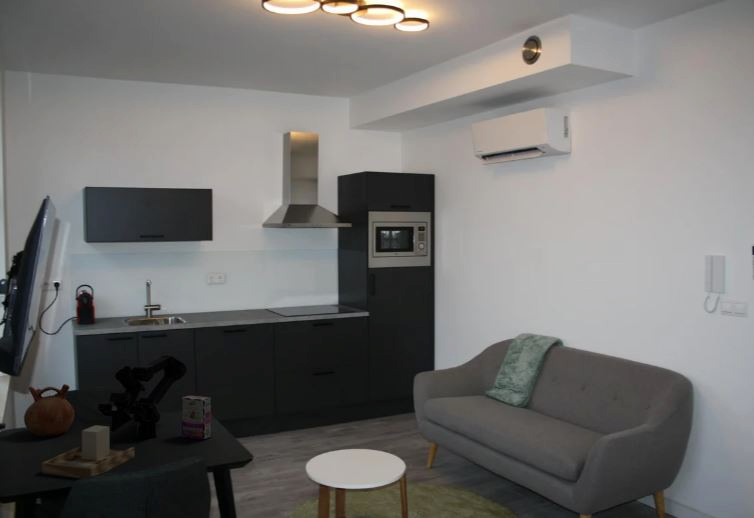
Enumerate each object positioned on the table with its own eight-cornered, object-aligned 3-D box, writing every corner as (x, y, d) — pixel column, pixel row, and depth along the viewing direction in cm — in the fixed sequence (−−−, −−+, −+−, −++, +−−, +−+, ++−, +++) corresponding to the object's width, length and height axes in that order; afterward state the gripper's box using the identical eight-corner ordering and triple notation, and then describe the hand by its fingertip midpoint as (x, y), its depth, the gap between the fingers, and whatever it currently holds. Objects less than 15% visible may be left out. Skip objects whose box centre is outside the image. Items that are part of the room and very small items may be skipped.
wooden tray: (88, 451, 247) (88, 442, 247) (134, 456, 242) (134, 447, 242) (41, 473, 224) (41, 463, 224) (91, 479, 219) (91, 469, 219)
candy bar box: (211, 437, 266) (211, 397, 265) (204, 440, 261) (204, 400, 261) (189, 434, 270) (189, 394, 270) (181, 437, 266) (181, 397, 265)
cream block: (95, 452, 240) (95, 425, 240) (109, 453, 239) (109, 426, 239) (82, 458, 234) (81, 430, 233) (96, 460, 232) (96, 432, 232)
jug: (22, 442, 257) (21, 392, 257) (26, 430, 274) (25, 382, 273) (73, 437, 265) (73, 388, 264) (74, 425, 281) (74, 378, 280)
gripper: (100, 382, 252) (80, 418, 242) (142, 385, 247) (124, 422, 237) (113, 397, 260) (94, 433, 249) (155, 401, 255) (137, 437, 245)
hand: (112, 431), depth 245 cm, fingers closed
